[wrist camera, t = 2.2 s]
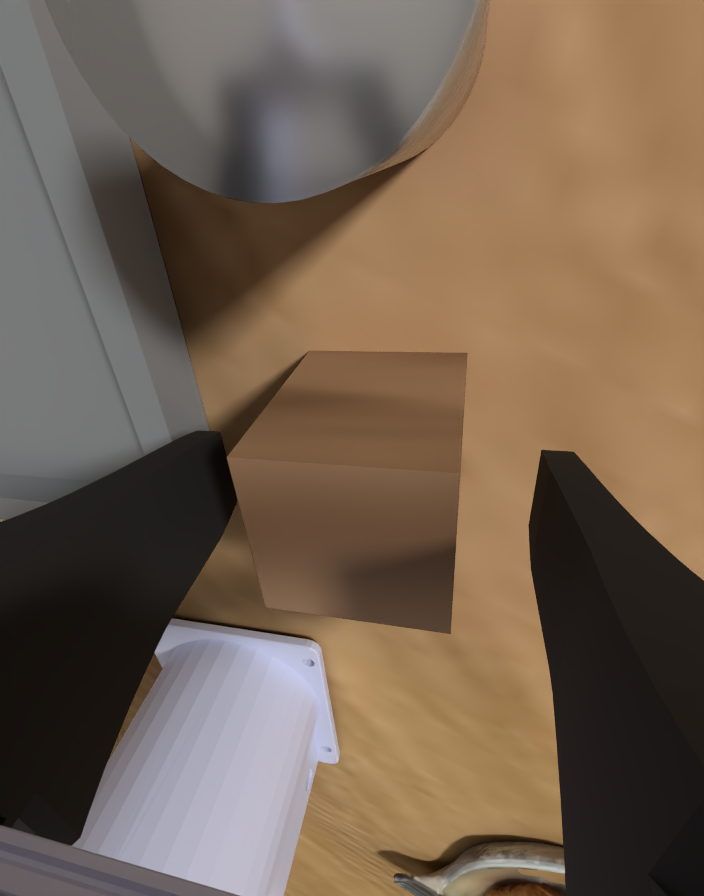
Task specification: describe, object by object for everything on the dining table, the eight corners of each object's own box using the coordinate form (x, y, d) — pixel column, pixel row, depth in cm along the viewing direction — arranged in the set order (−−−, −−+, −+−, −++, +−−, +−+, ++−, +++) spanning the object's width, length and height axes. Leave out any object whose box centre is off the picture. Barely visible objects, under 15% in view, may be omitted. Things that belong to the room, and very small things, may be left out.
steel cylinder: (478, 159, 9) (479, 192, 4) (286, 173, 10) (109, 213, 5) (497, -151, 7) (539, -753, 2) (251, -98, 8) (-99, -448, 3)
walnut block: (459, 484, 14) (450, 633, 10) (325, 474, 15) (265, 607, 10) (467, 352, 12) (459, 473, 7) (309, 350, 12) (226, 457, 8)
